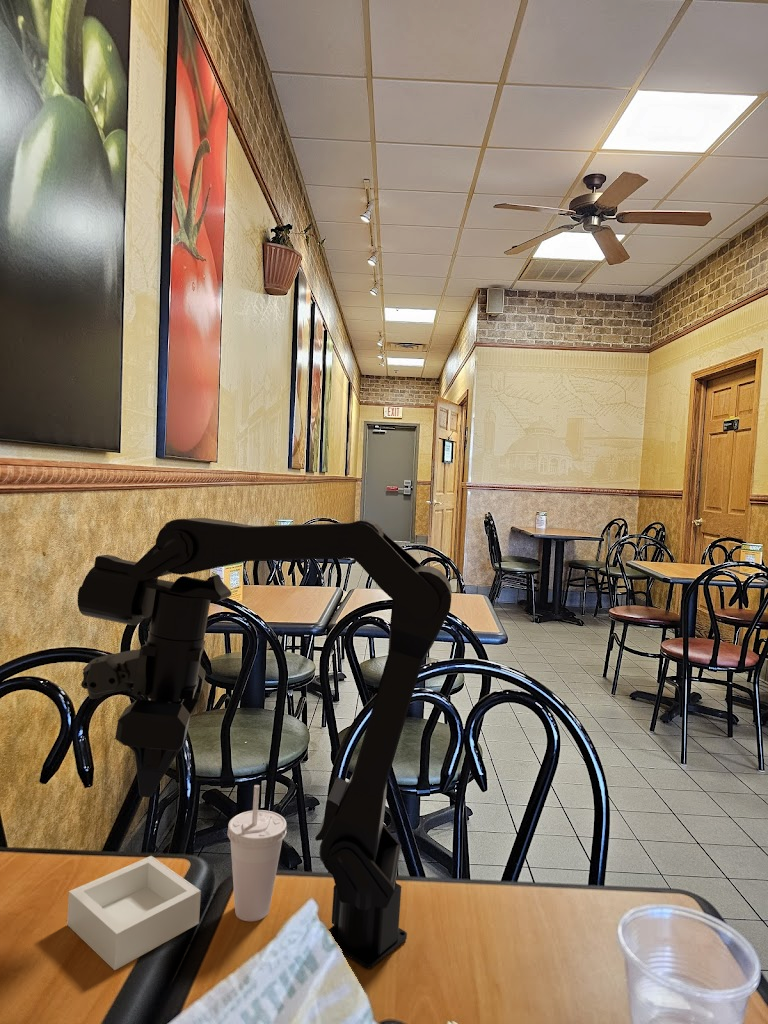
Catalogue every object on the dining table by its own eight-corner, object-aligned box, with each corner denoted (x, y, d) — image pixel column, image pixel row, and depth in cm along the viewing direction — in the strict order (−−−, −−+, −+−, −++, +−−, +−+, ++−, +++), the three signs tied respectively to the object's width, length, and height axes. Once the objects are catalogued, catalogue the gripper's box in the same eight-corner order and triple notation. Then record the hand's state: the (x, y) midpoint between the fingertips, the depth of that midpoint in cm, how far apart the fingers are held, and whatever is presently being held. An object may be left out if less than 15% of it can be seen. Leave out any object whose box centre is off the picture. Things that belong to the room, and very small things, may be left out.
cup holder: (198, 923, 68) (200, 890, 68) (114, 970, 61) (116, 933, 61) (149, 885, 74) (151, 855, 74) (67, 924, 67) (68, 891, 67)
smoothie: (209, 915, 70) (217, 787, 70) (248, 886, 75) (255, 767, 75) (256, 937, 67) (265, 803, 67) (293, 905, 72) (301, 781, 72)
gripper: (119, 605, 77) (99, 733, 78) (70, 647, 59) (44, 814, 59) (214, 618, 79) (194, 742, 80) (195, 662, 61) (169, 824, 61)
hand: (154, 775), depth 70 cm, fingers open, 9 cm apart
